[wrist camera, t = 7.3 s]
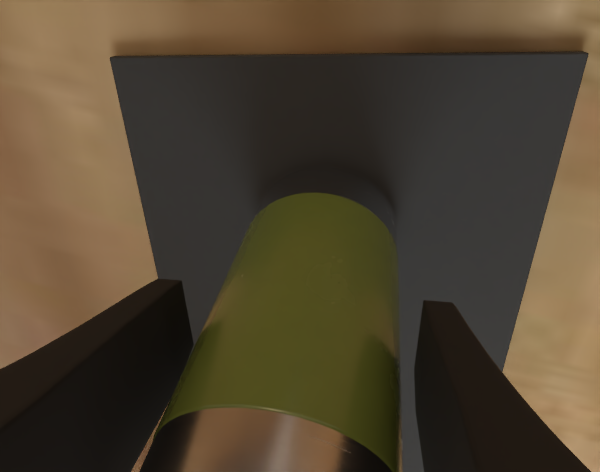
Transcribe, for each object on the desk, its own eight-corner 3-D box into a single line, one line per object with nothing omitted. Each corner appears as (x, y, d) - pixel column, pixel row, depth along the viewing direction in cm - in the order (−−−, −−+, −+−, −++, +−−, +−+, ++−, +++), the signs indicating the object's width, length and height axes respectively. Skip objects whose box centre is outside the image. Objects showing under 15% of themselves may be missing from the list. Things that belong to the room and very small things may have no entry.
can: (391, 285, 16) (392, 666, 8) (264, 276, 17) (146, 612, 9) (403, 167, 13) (425, 575, 5) (249, 162, 14) (51, 508, 6)
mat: (461, 511, 22) (462, 519, 22) (204, 471, 25) (202, 478, 24) (583, 51, 12) (589, 52, 11) (115, 55, 14) (108, 57, 14)
